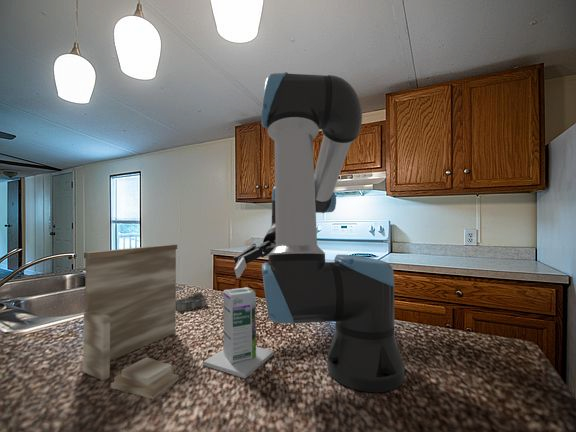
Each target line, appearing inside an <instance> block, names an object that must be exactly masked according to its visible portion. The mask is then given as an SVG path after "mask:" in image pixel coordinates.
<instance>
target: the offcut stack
mask: <svg viewBox="0 0 576 432" xmlns="http://www.w3.org/2000/svg"><path fill="white" fill-rule="evenodd" d="M174 372H175V371H174V365H173V366H172V364H171V363H170V364H169V363H166V362H165V361H164V362H163V361H159V360H156V359H153V358H150V357H144V358H142V359H140V360H138V361H136V362H134V363H132V364H131V365H128V366H126V367H124V368H123V369H121V372H120V373H119V374H117V375H116V376H115V377H114V378H113V379H114V381H112V382H111V383H110V388H112V389H113V390H114V389H115V390H119V391H122V392H125V393H130V394H133V395H137V396H141V397H144V398H148V399H152V400H154V399H156V397H158V396H159V395H160V394H162V393H163V392H164V391H165V390H167V389H169V387H171V386H172V385H173V384H175V383H176V382H177V381H179V379H180V374H176V373H174Z"/></svg>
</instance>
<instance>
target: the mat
mask: <svg viewBox="0 0 576 432" xmlns="http://www.w3.org/2000/svg"><path fill="white" fill-rule="evenodd" d="M274 355H275V350H271V349H267V348H263V347H259V346H256V357H255V358H251V359H247V360H243V361H239V362H235V363H233V364H231V363H230V361H229V360H228V359H227V357H226V356H225V354H224V348H223V349H221V350H220V351H218V352H216V353H214V354H213V355H212V356H210V357H209V358H206V359H205V360H203V362H202V363H203V364H202V365H203V366H204V367H208V368H211V369H214V370H217V371H221V372H224V373H227V374H230V375H232V376H235V377H238V378H239V377H240V378H243V379H247V378H248V377H249V376H250V375H252V374H253V373H254V372H255V371H256V370H257V369H259V368H260V367H261V366H262V365H263V364H265V363H266V362H267V361H268V360H269V359H271V358H272V356H274Z"/></svg>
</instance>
